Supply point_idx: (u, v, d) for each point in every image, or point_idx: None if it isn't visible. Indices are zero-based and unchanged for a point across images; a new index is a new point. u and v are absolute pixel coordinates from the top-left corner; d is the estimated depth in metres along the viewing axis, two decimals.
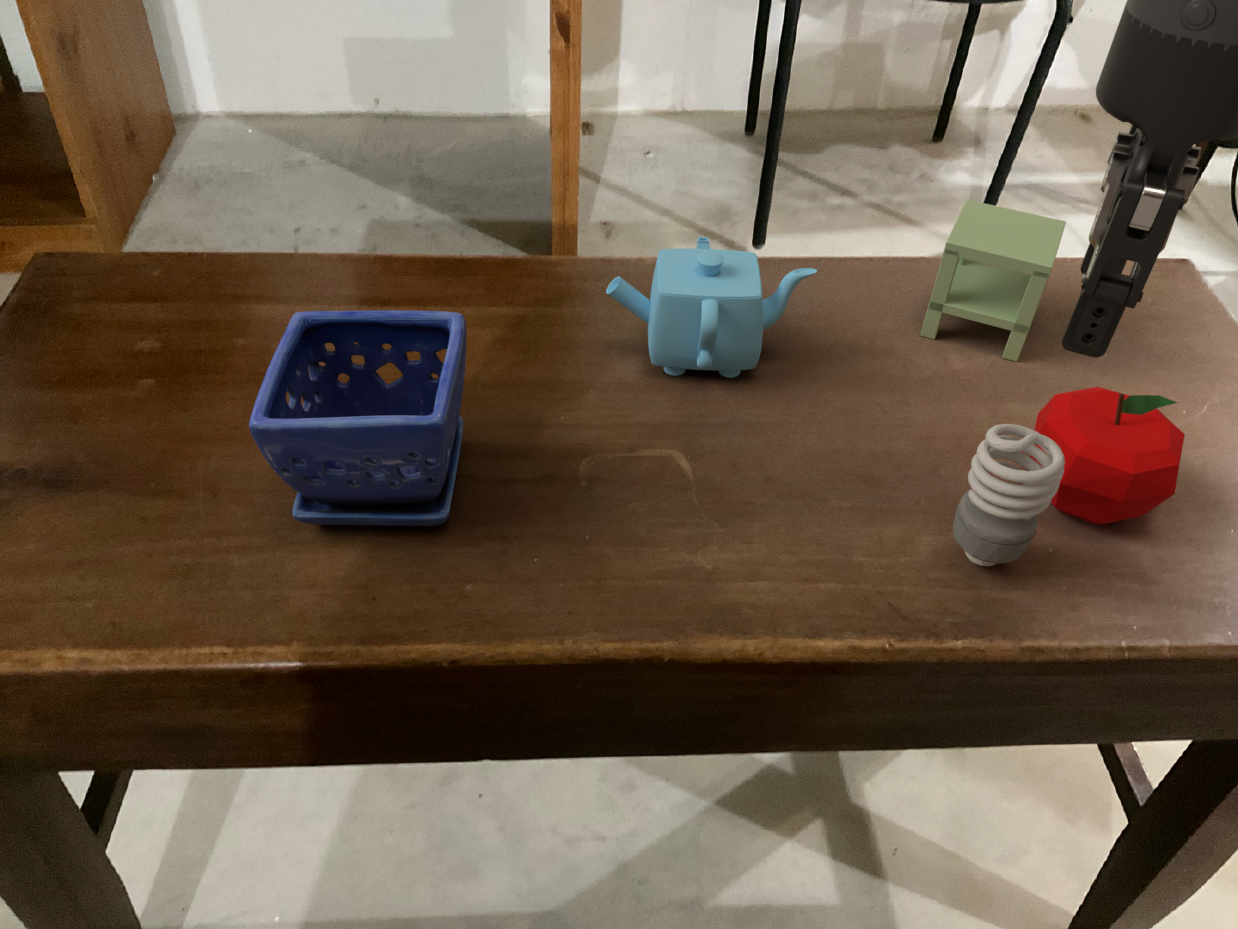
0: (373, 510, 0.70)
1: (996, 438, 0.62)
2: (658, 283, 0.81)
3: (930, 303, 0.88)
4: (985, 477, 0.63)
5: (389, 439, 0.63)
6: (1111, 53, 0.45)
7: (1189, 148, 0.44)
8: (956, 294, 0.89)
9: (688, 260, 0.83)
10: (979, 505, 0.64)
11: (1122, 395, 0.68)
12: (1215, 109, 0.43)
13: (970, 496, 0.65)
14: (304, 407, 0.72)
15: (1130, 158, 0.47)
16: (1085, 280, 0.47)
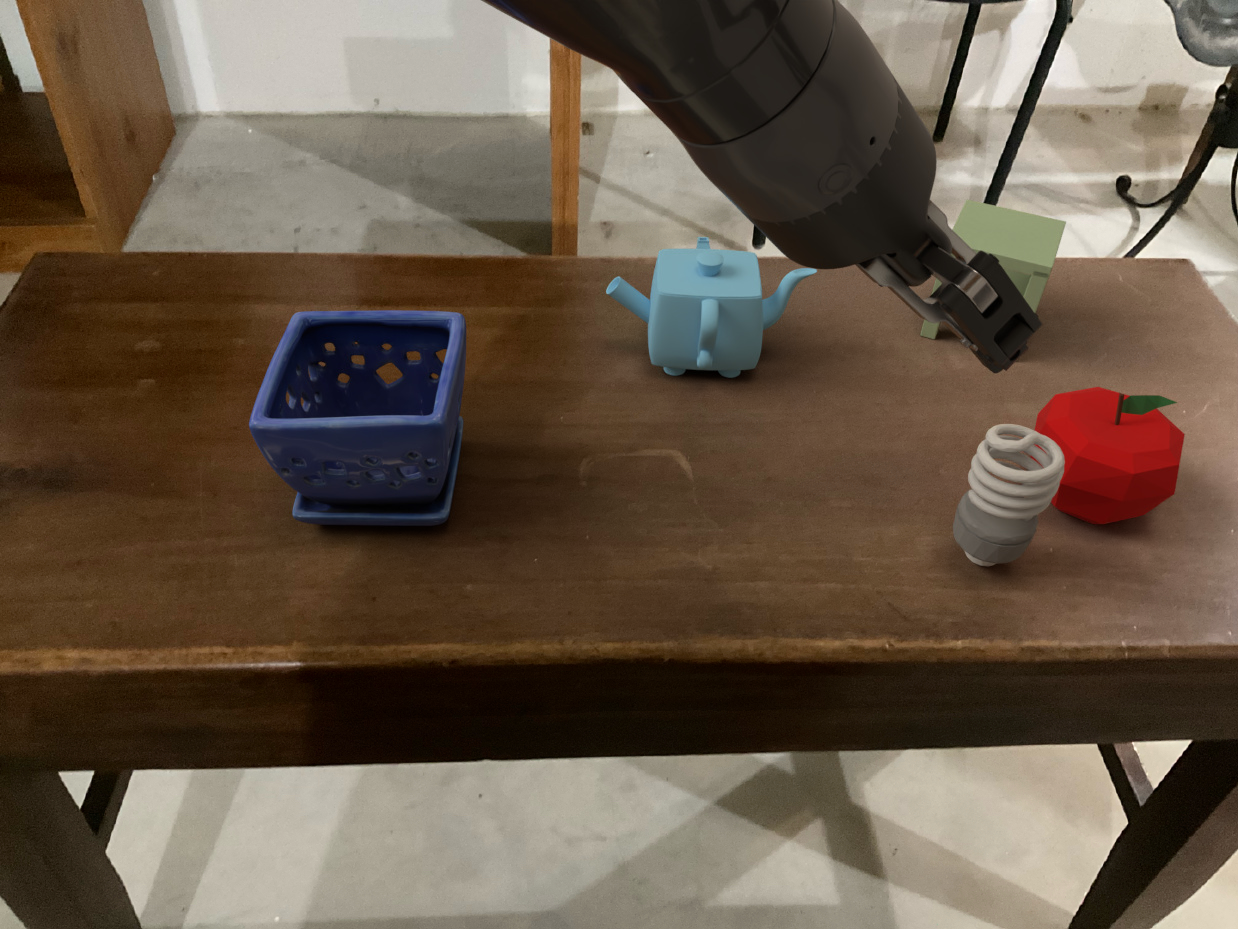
0: (373, 510, 0.70)
1: (996, 438, 0.62)
2: (658, 283, 0.81)
3: None
4: (985, 477, 0.63)
5: (389, 439, 0.63)
6: (780, 243, 0.39)
7: (926, 215, 0.38)
8: None
9: (688, 260, 0.83)
10: (979, 505, 0.64)
11: (1122, 395, 0.68)
12: (915, 184, 0.37)
13: (970, 496, 0.65)
14: (304, 407, 0.72)
15: (878, 255, 0.41)
16: (988, 358, 0.41)
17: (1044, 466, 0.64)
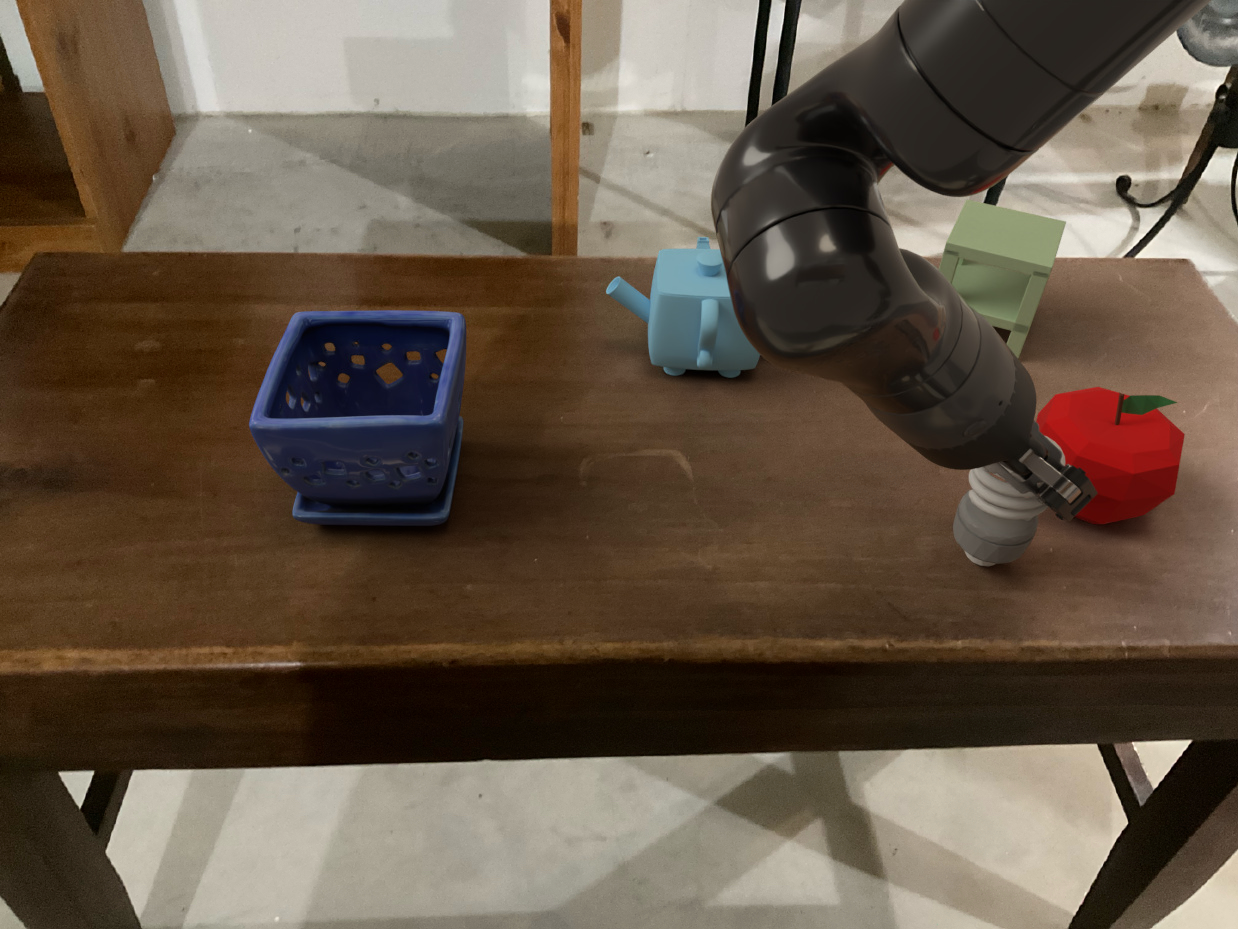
0: (373, 510, 0.70)
1: None
2: (658, 283, 0.81)
3: None
4: (986, 477, 0.63)
5: (389, 439, 0.63)
6: (924, 454, 0.54)
7: (1029, 435, 0.54)
8: None
9: (688, 260, 0.83)
10: (980, 505, 0.64)
11: (1122, 395, 0.68)
12: (1024, 419, 0.52)
13: (970, 496, 0.65)
14: (304, 407, 0.72)
15: None
16: (1060, 517, 0.58)
17: None
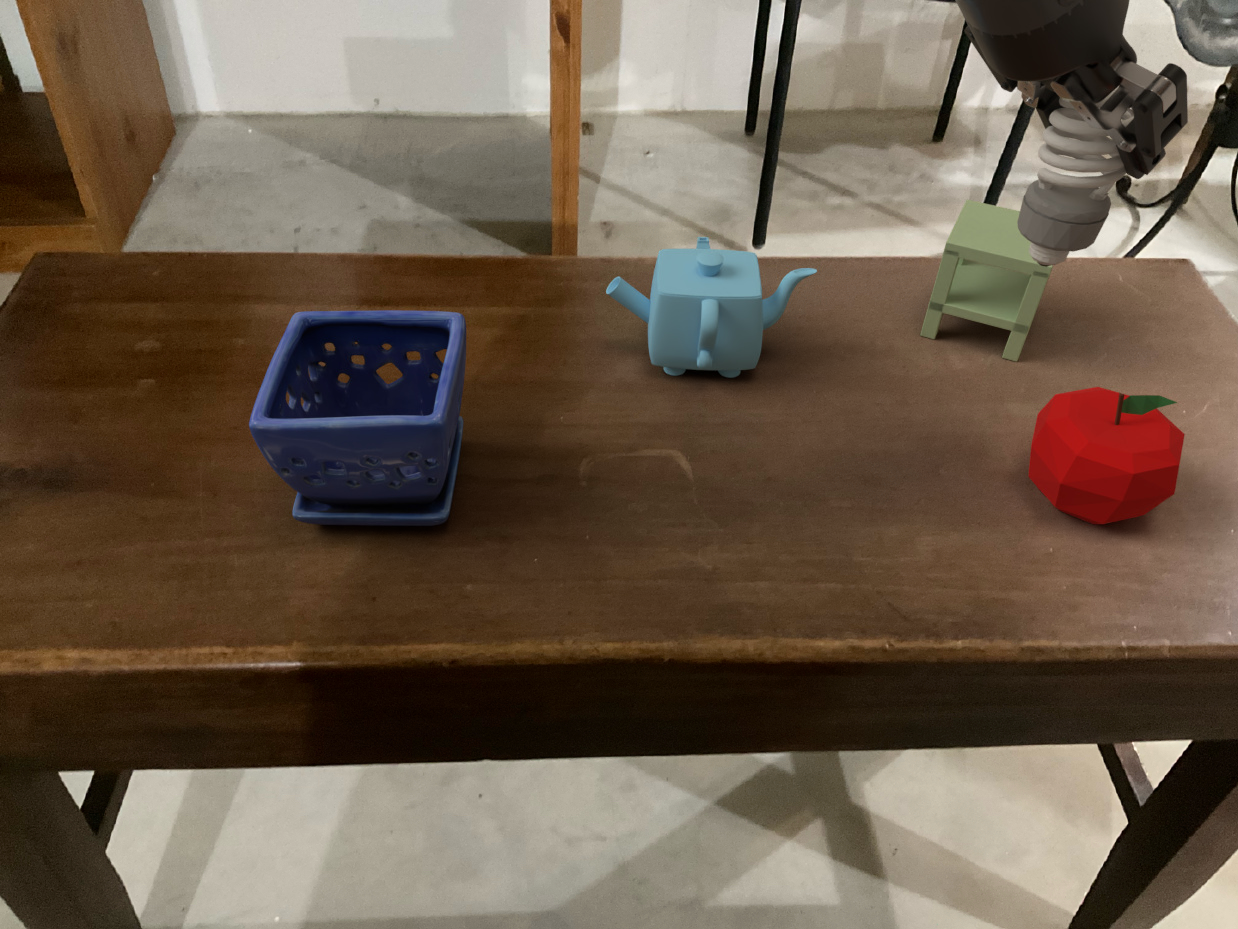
0: (373, 510, 0.70)
1: None
2: (658, 283, 0.81)
3: (930, 303, 0.88)
4: (1059, 139, 0.59)
5: (389, 439, 0.63)
6: (1007, 58, 0.50)
7: None
8: (956, 294, 0.89)
9: (688, 260, 0.83)
10: (1051, 177, 0.60)
11: (1122, 395, 0.68)
12: (1119, 3, 0.48)
13: (1040, 172, 0.61)
14: (304, 407, 0.72)
15: (1074, 73, 0.53)
16: (1146, 151, 0.54)
17: None
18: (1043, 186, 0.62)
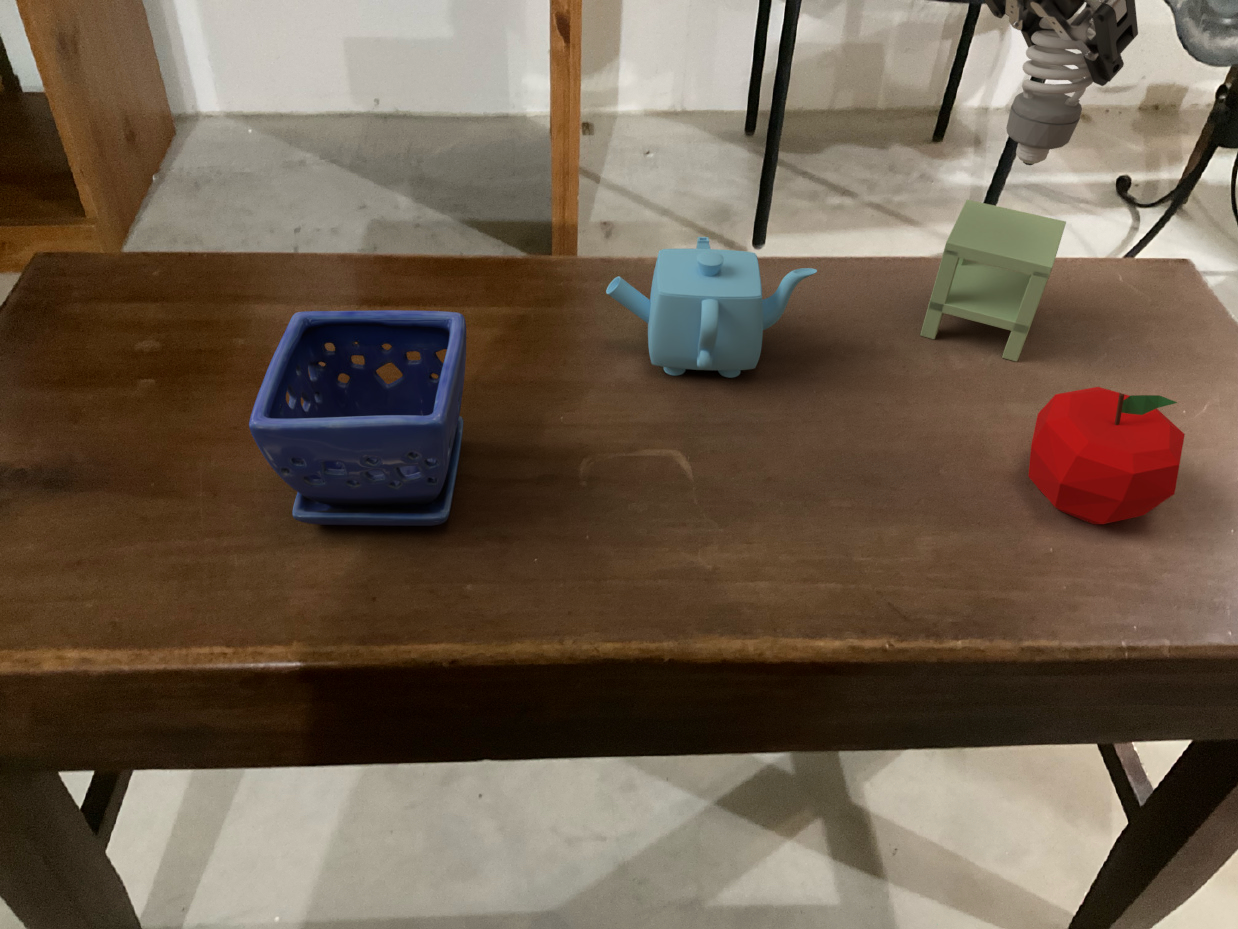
0: (373, 510, 0.70)
1: None
2: (658, 283, 0.81)
3: (930, 303, 0.88)
4: (1039, 53, 0.73)
5: (389, 439, 0.63)
6: None
7: None
8: (956, 294, 0.89)
9: (688, 260, 0.83)
10: (1033, 85, 0.75)
11: (1122, 395, 0.68)
12: None
13: (1024, 83, 0.76)
14: (304, 407, 0.72)
15: None
16: (1106, 57, 0.69)
17: None
18: (1027, 95, 0.77)
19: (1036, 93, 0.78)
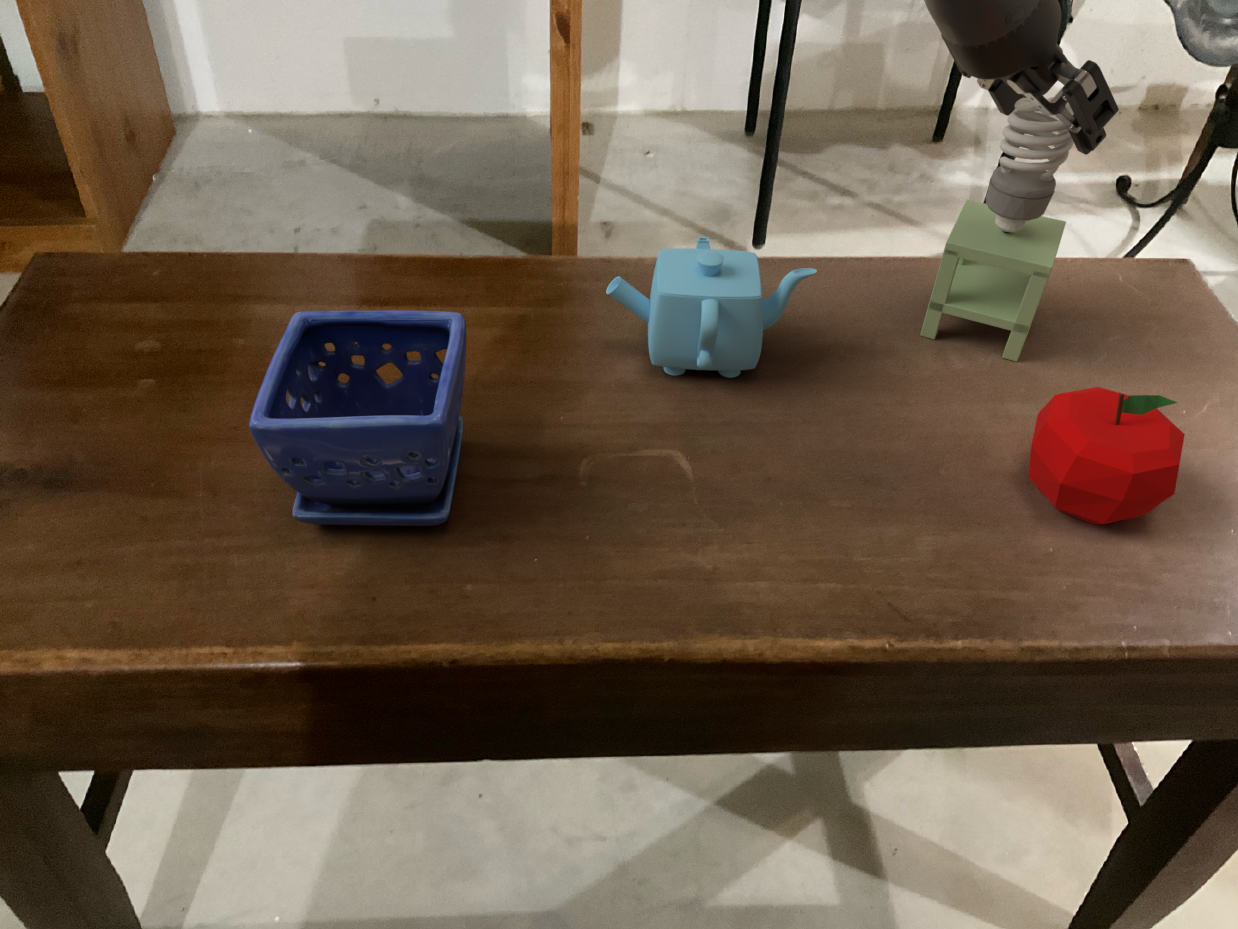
0: (373, 510, 0.70)
1: (1023, 102, 0.78)
2: (658, 283, 0.81)
3: (930, 303, 0.88)
4: (1014, 134, 0.78)
5: (389, 439, 0.63)
6: (972, 62, 0.69)
7: (1055, 43, 0.69)
8: (956, 294, 0.89)
9: (688, 260, 0.83)
10: (1009, 163, 0.79)
11: (1122, 395, 0.68)
12: (1052, 23, 0.67)
13: (1001, 160, 0.80)
14: (304, 407, 0.72)
15: (1023, 73, 0.71)
16: (1087, 131, 0.71)
17: (1061, 132, 0.79)
18: (1004, 170, 0.82)
19: None
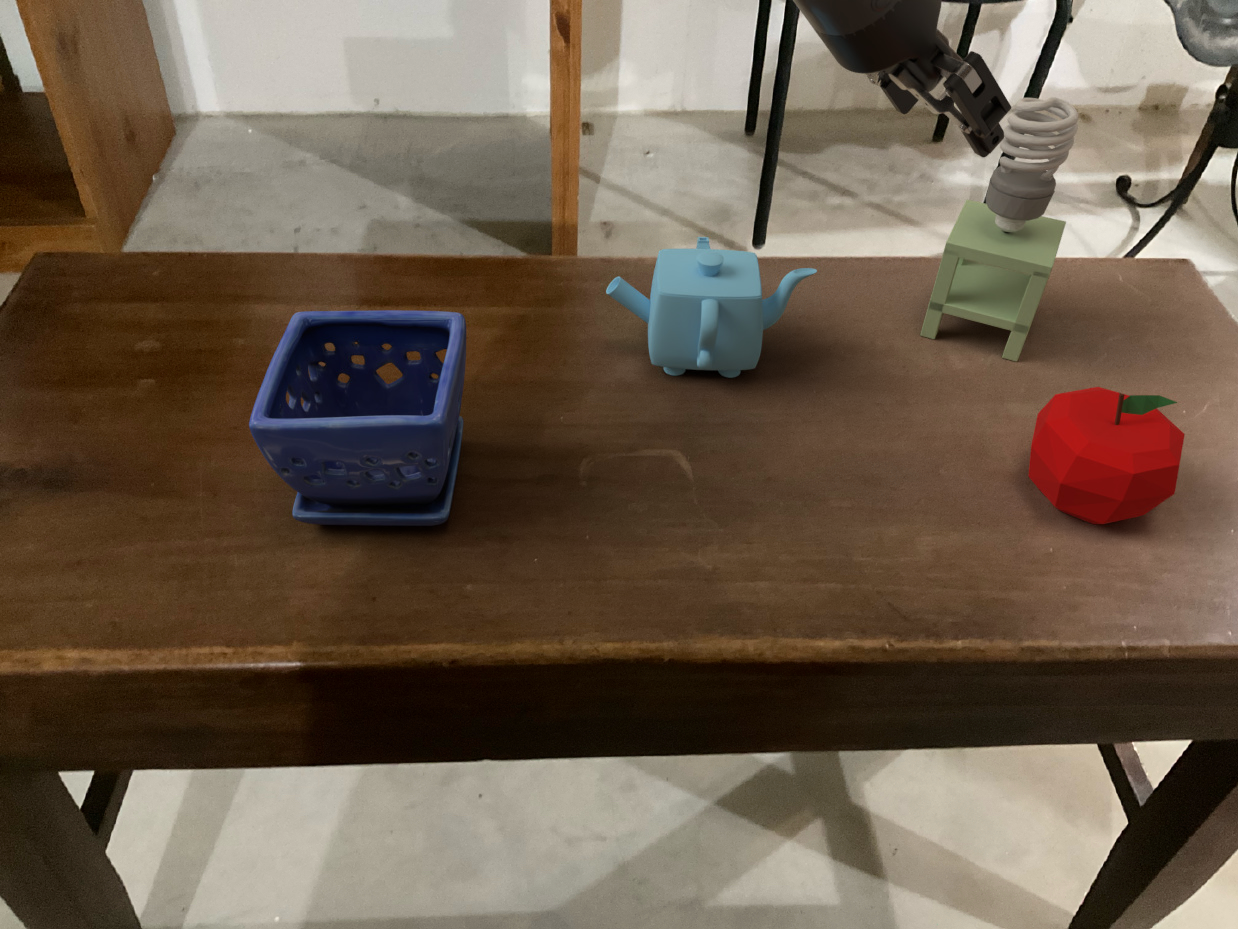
0: (373, 510, 0.70)
1: (1023, 102, 0.78)
2: (658, 283, 0.81)
3: (930, 303, 0.88)
4: (1014, 134, 0.78)
5: (389, 439, 0.63)
6: (843, 54, 0.61)
7: (936, 32, 0.61)
8: (956, 294, 0.89)
9: (688, 260, 0.83)
10: (1009, 163, 0.79)
11: (1122, 395, 0.68)
12: (929, 9, 0.59)
13: (1001, 160, 0.80)
14: (304, 407, 0.72)
15: (905, 67, 0.64)
16: (977, 132, 0.64)
17: (1061, 132, 0.79)
18: (1004, 170, 0.82)
19: None
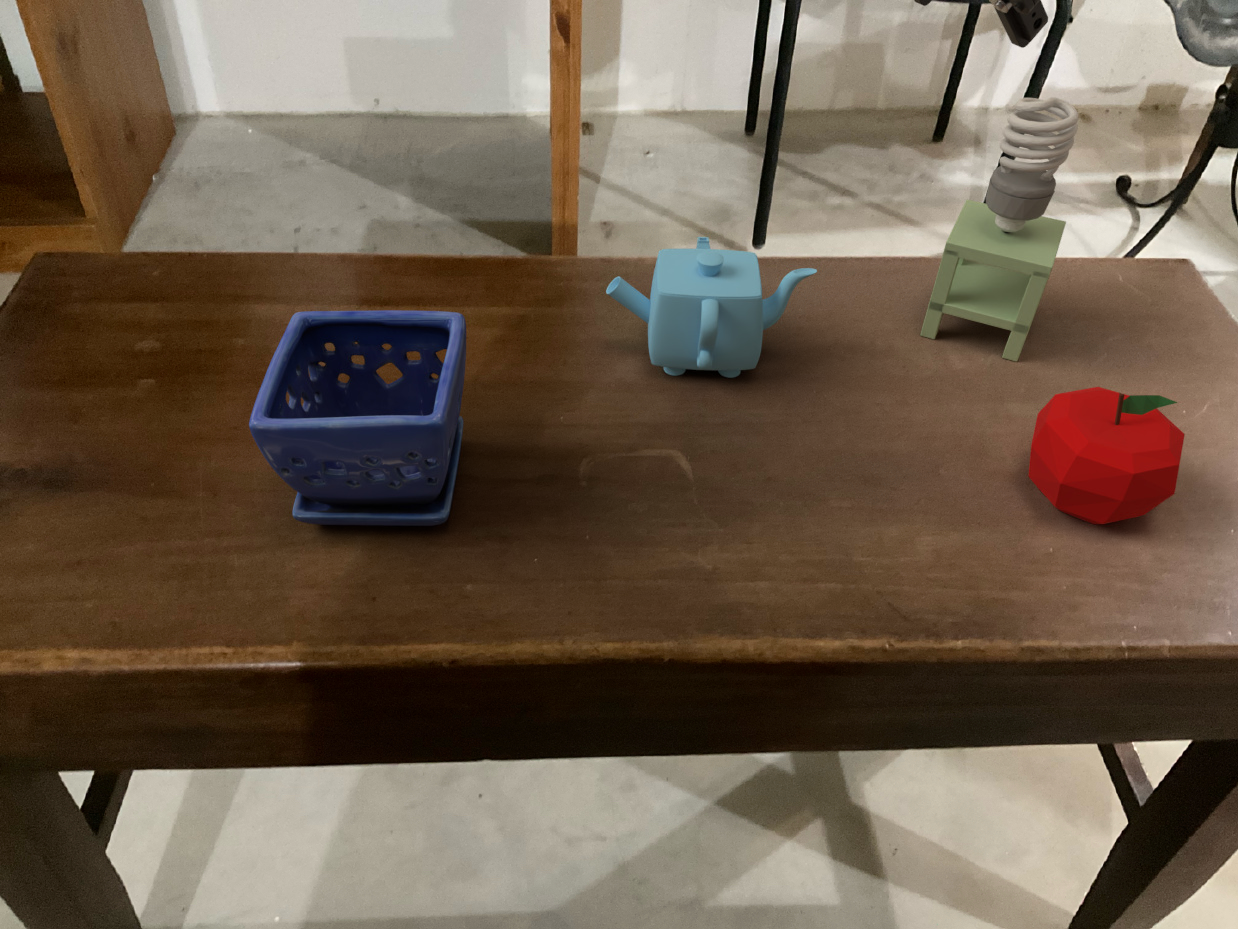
0: (373, 510, 0.70)
1: (1023, 102, 0.78)
2: (658, 283, 0.81)
3: (930, 303, 0.88)
4: (1014, 134, 0.78)
5: (389, 439, 0.63)
6: None
7: None
8: (956, 294, 0.89)
9: (688, 260, 0.83)
10: (1009, 163, 0.79)
11: (1122, 395, 0.68)
12: None
13: (1001, 160, 0.80)
14: (304, 407, 0.72)
15: None
16: (1018, 6, 0.52)
17: (1061, 132, 0.79)
18: (1004, 170, 0.82)
19: None
